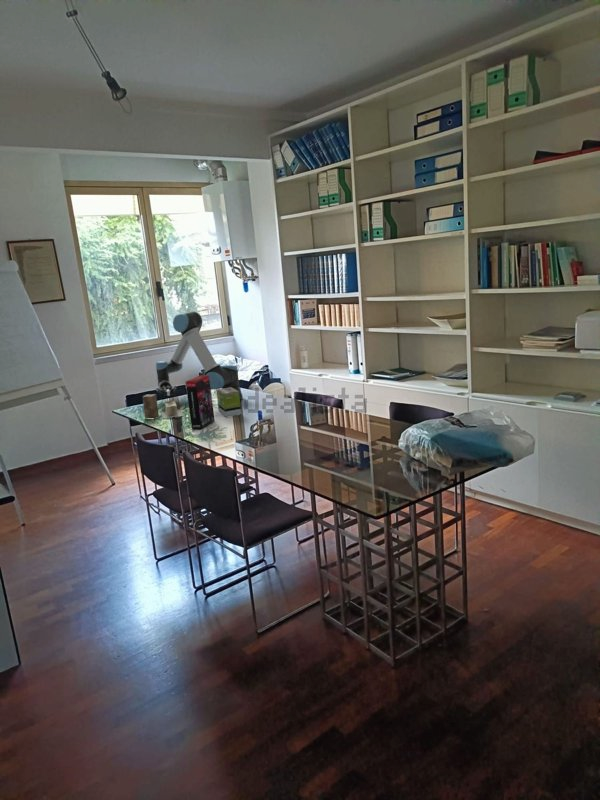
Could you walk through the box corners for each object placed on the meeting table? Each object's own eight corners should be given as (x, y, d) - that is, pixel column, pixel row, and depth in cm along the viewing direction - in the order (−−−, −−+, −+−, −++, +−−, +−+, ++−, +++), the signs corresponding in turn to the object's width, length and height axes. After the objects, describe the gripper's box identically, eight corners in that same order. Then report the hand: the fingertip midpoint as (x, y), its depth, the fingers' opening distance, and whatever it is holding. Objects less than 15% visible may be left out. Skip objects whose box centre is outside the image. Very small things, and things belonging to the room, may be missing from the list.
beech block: (174, 400, 368) (176, 405, 353) (175, 409, 369) (177, 415, 354) (164, 401, 366) (166, 407, 351) (165, 411, 368) (167, 416, 353)
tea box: (218, 412, 356) (215, 389, 352) (233, 410, 360) (231, 386, 356) (225, 417, 342) (223, 393, 339) (242, 414, 346) (239, 390, 343)
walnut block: (158, 416, 356) (156, 394, 353) (154, 419, 350) (151, 396, 347) (149, 416, 357) (146, 394, 354) (145, 419, 352) (142, 396, 349)
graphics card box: (201, 430, 319) (196, 381, 313) (190, 429, 321) (184, 381, 315) (215, 421, 335) (210, 375, 329) (204, 421, 337) (199, 375, 331)
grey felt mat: (180, 410, 369) (180, 409, 369) (183, 416, 352) (183, 415, 352) (160, 412, 366) (160, 412, 366) (163, 419, 349) (163, 418, 349)
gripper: (175, 391, 388) (179, 397, 366) (155, 393, 384) (158, 400, 362) (174, 380, 386) (178, 386, 364) (154, 382, 382) (157, 388, 360)
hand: (168, 393), depth 363 cm, fingers closed
